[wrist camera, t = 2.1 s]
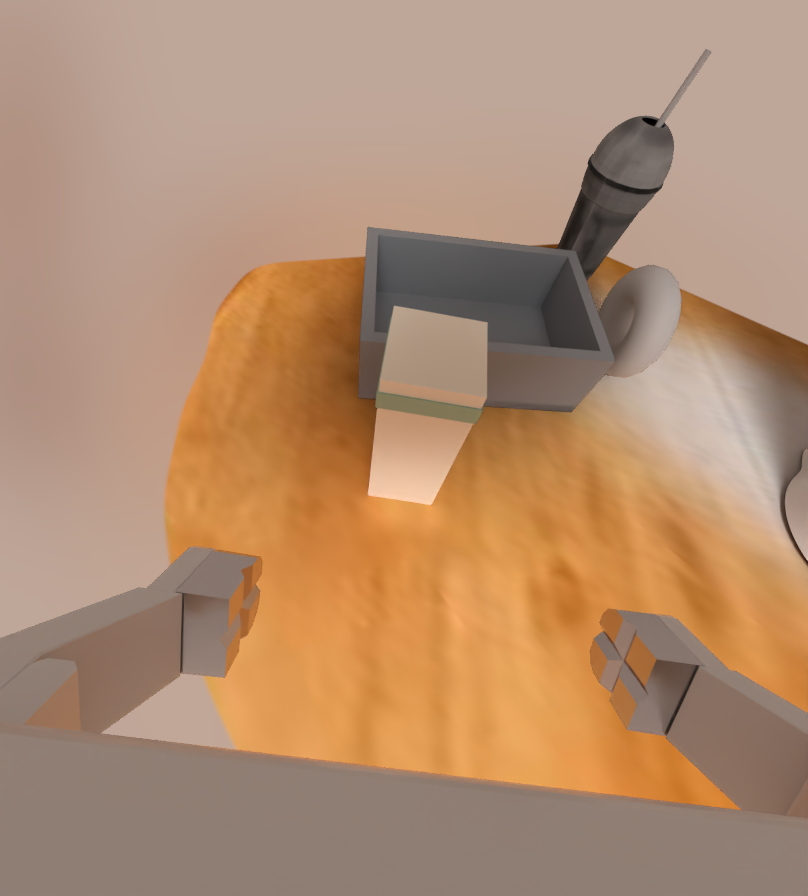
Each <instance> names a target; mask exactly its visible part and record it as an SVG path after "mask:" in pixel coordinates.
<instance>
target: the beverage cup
mask: <svg viewBox="0 0 808 896" xmlns="http://www.w3.org/2000/svg"><path fill="white" fill-rule="evenodd" d="M710 54H711V51H709V50H707V49H706V50H705V51H704V53H703V54H702V56H701V57H700V59H699V60H698V62H697V63H696V65H695V66H694V68H693V69H692V71H691V72H690V74H689V75H688V77H687V78H686V80H685V81H684V83H683V84H682V86H681V87H680V89H679V90H678V92H677V93H676V95H675V96H674V98H673V99H672V101H671V102H670V104H669V105H668V107H667V108H666V110H665V111H664V113H663V114H662V116H661V117H660V119H658V118H655V117H652V116H639V117H635V118H632V119H629V120H627V121H625V122H623V123H622V124H620V125H618V126H617V127H615V128H614V129H613V130H612V131H611V132H610V133H608V134H607V135H606V136H605V138H604V139H603V140H602V141H601V143H600V144H599V145H598V147H597V149H596V151H595V152H594V154H592V156H591V157H590V158H589V161H588V167H587V170H586V172H585V176H584V179H583V182H582V186H581V187H582V189H581V191H580V193H579V196H578V198H577V201H576V203H575V206H574V208H573V211H572V213H571V216H570V218H569V220H568V223H567V225H566V228H565V231H564V233H563V236H562V238H561V240H560V243H559V245H558V248H557V249H562V250H571V251H576V254H577V256H578V259H579V262H580V265H581V267H582V270H583V273H584V276H585V278H586V281H587V280H588V279H589V278H590V277H591V276H592V274H593V273H594V272H595V270H596V269H597V268H598V266H599V265H600V264H601V262H602V261H603V260H604V258H605V257H606V256H607V254H608V253H609V252H610V250H611V249H612V247H613V246H614V245H615V244H616V242H617V241H618V239H619V238H620V237H621V235H622V234H623V233H624V231H625V230H626V229H627V227H628V226H629V224H630V223H631V222H632V221H633V219H634V218H635V217H636V215H637V214H638V212H639V211H641V210H642V209H643V208H644V207H645V206H646V204H647V203H648V202H649V201H650V200H651V199H652V198H653V196H654V195H655V194H656V192H658V191H659V190H660V189H661V188H662V185H663V182H664V180H665V178H666V176H667V174H668V171H669V169H670V167H671V163H672V158H673V151H674V141H673V136H672V134H671V131H670V129H669V128H668V126H667V125H666V124H665V123H664V122H665V120H666V119H667V117H668V116H669V115H670V113H671V112H672V110H673V109H674V107H675V106H676V104H677V103H678V101H679V100H680V98H681V97H682V95H683V94H684V92H685V91H686V89H687V88H688V86H689V85H690V84H691V82H692V81H693V79H694V78H695V76H696V75H697V73H698V72H699V70H700V69H701V67H702V66H703V64H704V63H705V61H706V60H707V58H708V57H709V55H710Z"/></svg>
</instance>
